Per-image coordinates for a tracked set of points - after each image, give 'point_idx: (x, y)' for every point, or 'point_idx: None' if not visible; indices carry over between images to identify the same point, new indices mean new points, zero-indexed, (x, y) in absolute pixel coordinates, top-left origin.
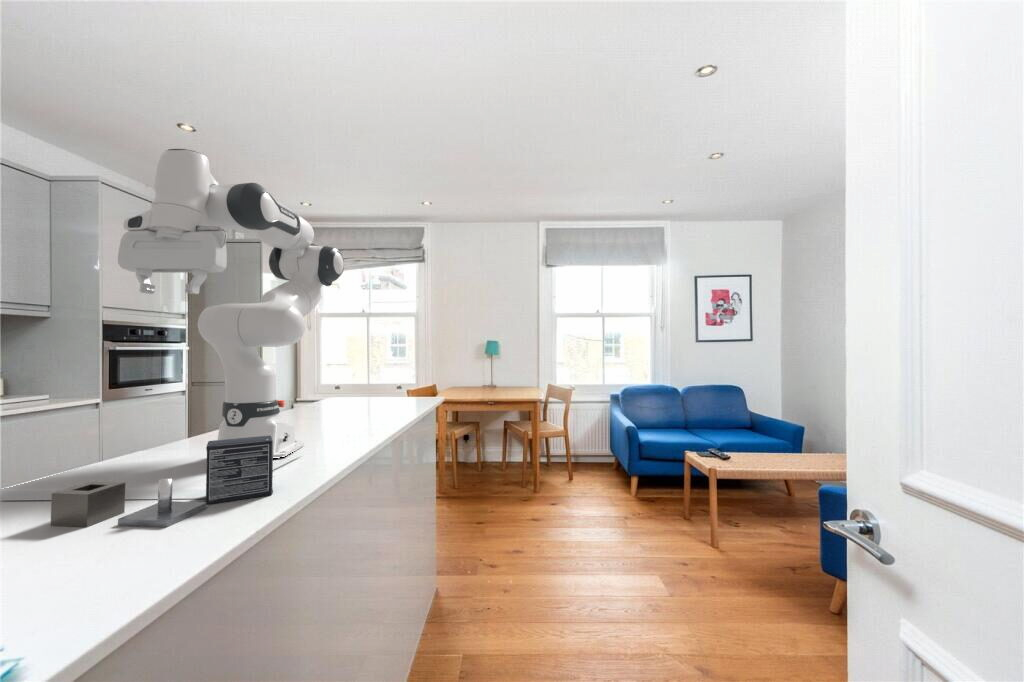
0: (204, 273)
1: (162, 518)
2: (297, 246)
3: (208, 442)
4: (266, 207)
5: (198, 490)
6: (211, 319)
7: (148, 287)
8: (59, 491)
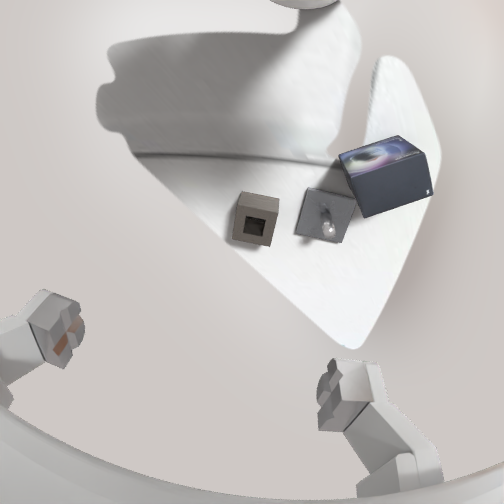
0: (425, 479)
1: (335, 237)
2: None
3: (355, 189)
4: None
5: (317, 133)
6: None
7: (69, 345)
8: (234, 235)
